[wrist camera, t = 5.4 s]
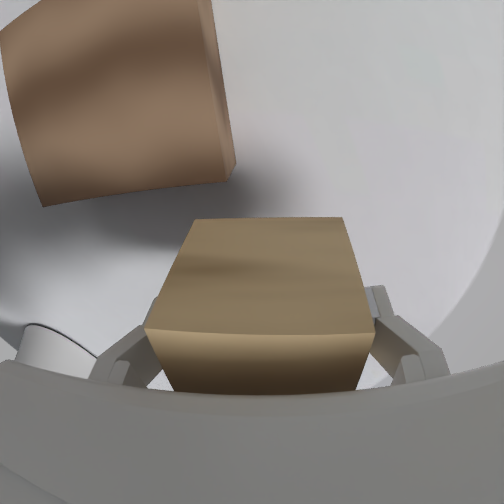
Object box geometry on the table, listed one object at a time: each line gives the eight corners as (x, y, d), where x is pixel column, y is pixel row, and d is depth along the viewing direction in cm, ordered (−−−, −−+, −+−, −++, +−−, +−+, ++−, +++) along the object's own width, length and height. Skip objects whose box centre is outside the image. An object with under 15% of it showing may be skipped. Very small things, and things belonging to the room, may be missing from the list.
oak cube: (329, 321, 14) (339, 427, 10) (214, 320, 15) (191, 422, 10) (342, 217, 11) (375, 332, 6) (195, 219, 12) (143, 328, 7)
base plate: (236, 163, 16) (226, 181, 14) (64, 189, 18) (42, 207, 16) (203, -51, 9) (187, -66, 7) (26, 28, 11) (-2, 32, 9)
